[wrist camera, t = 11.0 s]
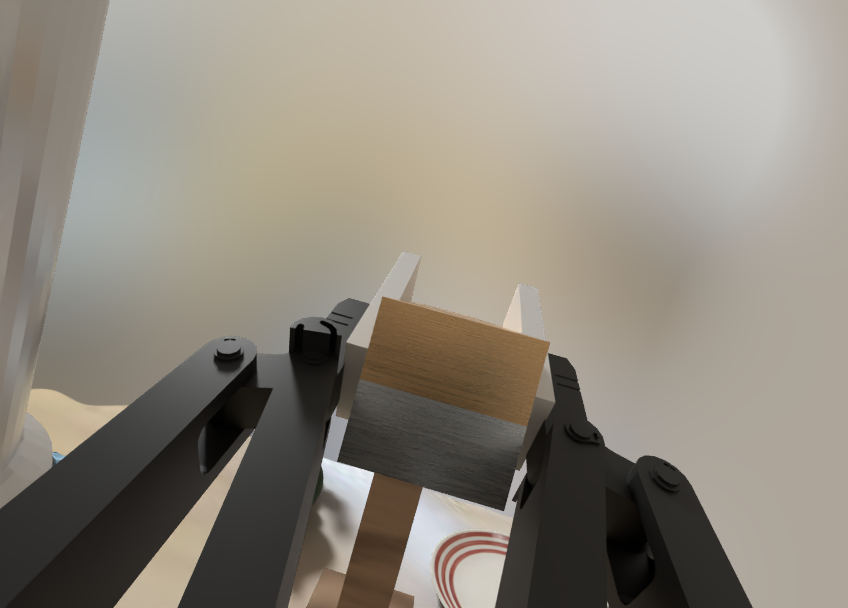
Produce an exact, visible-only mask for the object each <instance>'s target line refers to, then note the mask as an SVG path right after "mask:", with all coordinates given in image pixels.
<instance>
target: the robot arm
mask: <svg viewBox="0 0 848 608" xmlns="http://www.w3.org/2000/svg"><path fill="white" fill-rule="evenodd" d="M108 5H109V0H0V608H113V607H114V606H115V605H116V604H117V602H118V601H119V600H120V598H121V597H122V596H123V595H124V593H125V592H126V591H127V590H128V588H129V587H130V586H131V585H132V583H133V582H134V581H135V580H136V578H137V577H138V576H139V574H140V573H141V572H142V571H143V569H144V568H145V567H146V566H147V564H148V563H149V562H150V561H151V559H152V558H153V557H154V556H155V554H156V553H157V552H158V550H159V549H160V548H161V547H162V545H163V544H164V543H165V542H166V540H167V539H168V538H169V537H170V535H171V534H172V533H173V532H174V530H175V529H176V528H177V526H178V525H179V524H180V523H181V521H182V520H183V519H184V518H185V516H186V515H187V514H188V513H189V511H190V510H191V509H192V508H193V506H194V505H195V504H196V502H197V501H198V500H199V499H200V497H201V496H202V495H203V494H204V492H205V491H206V490H207V489H208V487H209V486H210V485H211V484H212V482H213V481H214V480H215V478H216V477H217V476H218V475H219V473H220V472H221V471H222V470H223V468H224V467H225V466H226V465H227V463H228V462H229V461H230V460H231V458H232V457H233V456H234V454H235V453H236V452H237V451H238V449H239V448H240V447H241V446H242V444H243V443H244V442H245V441H246V439H247V438H248V437H249V436H250V434H251V433H252V432H253V430H254V429H255V431H254V434H253V436H252V438H251V441H250V443H249V445H248V447H247V450H246V452H245V454H244V457H243V459H242V461H241V464H240V466H239V468H238V470H237V473H236V475H235V477H234V480H233V482H232V484H231V486H230V489H229V491H228V493H227V496H226V498H225V500H224V502H223V505H222V507H221V509H220V512H219V514H218V516H217V519H216V521H215V523H214V525H213V528H212V530H211V532H210V535H209V537H208V539H207V541H206V544H205V546H204V548H203V551H202V553H201V555H200V558H199V560H198V562H197V564H196V567H195V569H194V571H193V574H192V576H191V578H190V580H189V583H188V585H187V587H186V590H185V592H184V594H183V596H182V599H181V601H180V603H179V606H178V608H288V604H289V600H290V596H291V592H292V587H293V583H294V579H295V574H296V570H297V566H298V562H299V557H300V553H301V549H302V545H303V540H304V536H305V532H306V527H307V523H308V519H309V515H310V510H311V506H312V502H313V497H314V493H315V489H316V485H317V480H318V476H319V472H320V468H321V463H322V459H323V454H324V450H325V446H326V442H327V438H328V433H329V429H330V423H331V416H332V414H333V412H334V410H335V408H336V406H337V411H336V416H338V417H341V418H345V419H348V420H349V416H350V413H351V409H352V405H353V402H354V398H355V394H356V391H357V387H358V383H359V380H360V376H361V372H362V369H363V365H364V361H365V358H366V354H367V350H368V347H369V343H370V339H371V336H372V332H373V328H374V325H375V321H376V317H377V314H378V310H379V306H380V303H381V299H382V296H383V297H388V298H393V299H398V300H403V301H408V302H411V298H412V294H413V289H414V285H415V281H416V276H417V272H418V268H419V263H420V259H421V256H419V255H415V254H411V253H408V252H404V251H403V252H402V254H401V255H400V257H399V258H398V260H397V262H396V263H395V265H394V266H393V268H392V270H391V271H390V273H389V275H388V276H387V278H386V279H385V281H384V282H383V284H382V286H381V287H380V289H379V291H378V292H377V294H376V295H375V297H374V298H373V300H372V302H371V303H370V304H368V303H365V302H361V301H358V300H354V299H350V298H348V299H346V300H344V301H342V302H340V303H338V304H337V306H336V307H335V308H334V309H333V311H332V312H331V313H330V315H329V316H328V317H327V319H325V318H321V317H309V318H303V319H300V320H298V321H296V322H294V324H293V325H292V326H291V327H290V341H289V353H288V354H276V355H275V354H258V353H257V349H256V348H257V347H256V346H255V345H254V343H253V342H251V341H249V340H247V339H246V338H241V337H236V336H231V337H222V338H218V339H214V340H212V341H211V342H209V343H207V344H206V345H204V346H203V347H202V348H200V349H199V350H198V351H197V352H195V353H194V354H193V355H192V356H190V357H189V358H188V359H187V360H186V361H184V362H183V363H182V364H181V365H179V366H178V367H177V368H175V369H174V370H173V371H172V372H170V373H169V374H168V375H167V376H165V377H164V378H163V379H162V380H161V381H159V382H158V383H157V384H155V385H154V386H153V387H152V388H151V389H149V390H148V391H147V392H145V393H144V394H143V395H142V396H140V397H139V398H138V399H137V400H135V401H134V402H133V403H132V404H130V405H129V406H128V407H127V408H125V409H124V410H123V411H122V412H120V413H119V414H118V415H117V416H115V417H114V418H113V419H112V420H110V421H109V422H108V423H107V424H105V425H104V426H103V427H102V428H100V429H99V430H98V431H97V432H95V433H94V434H93V435H92V436H90V437H89V438H88V439H87V440H85V441H84V442H83V443H82V444H80V445H79V446H78V447H77V448H75V449H74V450H73V451H72V452H70V453H69V454H68V455H67V456H63V455H61V454H59V453H57V452H54V453H52V442H51V440H50V438H49V435H48V433H47V431H46V430H45V429H44V427H43V426H42V425H41V424H40V423H39V422H38V421H37V420H36V419H35V418H34V417H33V416H32V415H30V414H29V413H27V412H26V411H27V406H28V401H29V396H30V391H31V386H32V381H33V376H34V371H35V366H36V361H37V356H38V351H39V346H40V342H41V336H42V331H43V327H44V322H45V317H46V312H47V307H48V302H49V297H50V292H51V287H52V282H53V277H54V272H55V267H56V262H57V257H58V252H59V248H60V243H61V237H62V233H63V228H64V223H65V218H66V213H67V208H68V203H69V198H70V193H71V188H72V183H73V178H74V173H75V168H76V164H77V159H78V154H79V149H80V144H81V139H82V134H83V129H84V124H85V119H86V114H87V109H88V104H89V99H90V94H91V89H92V85H93V80H94V74H95V70H96V64H97V59H98V55H99V50H100V45H101V40H102V34H103V30H104V25H105V20H106V15H107V10H108ZM502 327H504V328H507V329H510V330H513V331H516V332H519V333H523V334H526V335H529V336H532V337H535V338H538V339H541V340H544V341H546V339H545V333H544V326H543V320H542V313H541V307H540V301H539V294H538V288H535V287H531V286H528V285H524V284H521V283H519V284H518V287H517V289H516V292H515V295H514V297H513V300H512V302H511V305H510V308H509V311H508V313H507V316H506V318H505V321H504V324H503V326H502ZM577 381H578V379H577V375H576V371H575V369H574V367H573V366H572V365H571V363H570V362H569V361H568V360H567V358H563V357H560V356H556V355H553V354H549V353H548V352H547V356H546V359H545V363H544V367H543V370H542V374H541V378H540V381H539V385H538V389H537V392H536V396H535V399H534V403H533V407H532V410H531V414H530V418H529V421H528V425H527V429H526V432H525V436H524V440H523V443H522V447H521V451H520V454H519V458H518V461H517V465H516V469H515V470H519V471H520V469H521V467H522V465H523V463H524V461H525V460H526V463H527V473H526V475H525V477H524V479H523V481H522V482H521V484H520V486H519V488H518V490H517V492H516V494H515V495H514V497H513V499H512V501H514V502H516V501H517V505H516V509H515V514H514V518H513V523H512V528H511V533H510V538H509V542H508V547H507V552H506V557H505V561H504V566H503V571H502V576H501V580H500V585H499V590H498V595H497V599H496V604H495V608H607V602H608V606H609V608H752V605H751V604H750V601H749V599H748V598H747V595H746V593H745V592H744V590H743V587H742V586H741V584H740V582H739V579H738V577H737V575H736V573H735V571H734V569H733V568H732V566H731V564H730V561H729V560H728V558H727V556H726V554H725V552H724V550H723V548H722V546H721V544H720V542H719V540H718V538H717V536H716V534H715V532H714V530H713V528H712V526H711V524H710V522H709V520H708V518H707V516H706V514H705V512H704V510H703V508H702V506H701V504H700V502H699V500H698V498H697V496H696V494H695V492H694V490H693V488H692V486H691V484H690V483H689V481H688V480H687V478H686V477H685V476H684V475H683V474H682V473H681V472H680V471H679V470H678V469H677V468H676V467H674V466H673V465H671V464H670V463H668V462H666V461H665V460H663V459H660V458H658V457H655V456H643V457H640V458H639V459H638V460H637V462H636V463H633V462H631V461H629V460H627V459H626V458H624V457H622V456H620V455H618V454H616V453H614V452H613V451H611V450H610V449H608V448H607V447H605V443H604V440H603V436H602V435H601V434H600V432H599V431H598V429H597V428H596V427H594V426H593V425H592V424H591V423H590V422H589V421H587V417H586V412H585V409H584V404H583V400H582V396H581V392H580V391H579V390H580V388H579V384H578V382H577Z"/></svg>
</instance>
